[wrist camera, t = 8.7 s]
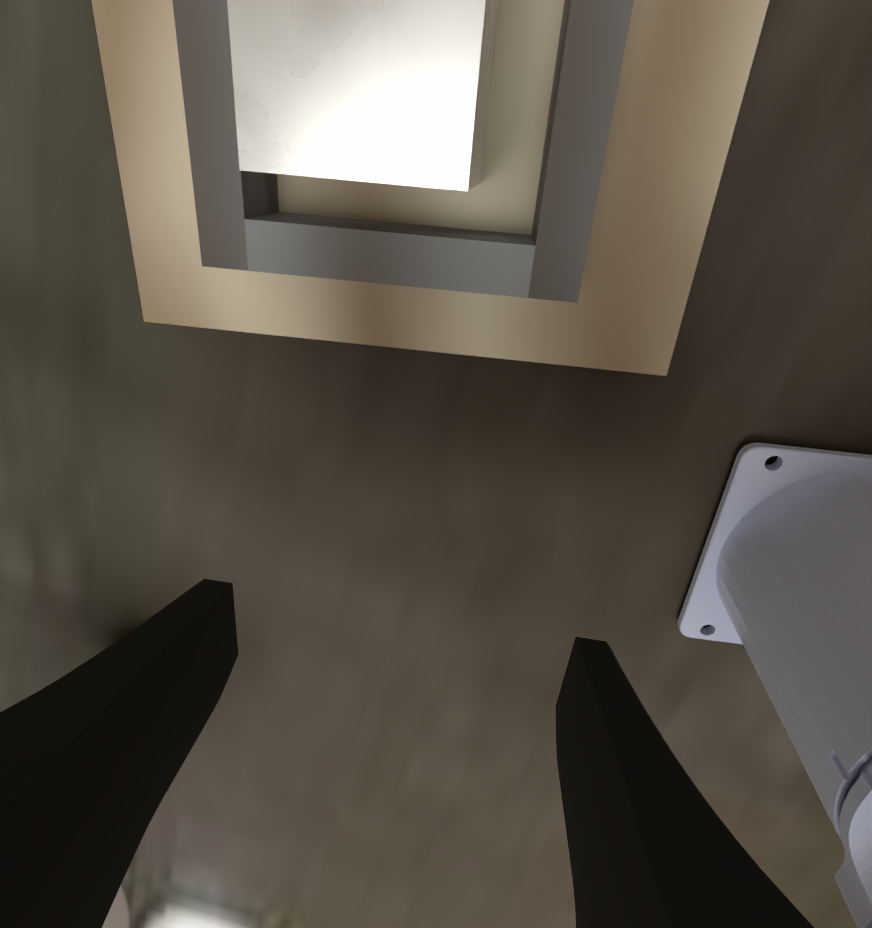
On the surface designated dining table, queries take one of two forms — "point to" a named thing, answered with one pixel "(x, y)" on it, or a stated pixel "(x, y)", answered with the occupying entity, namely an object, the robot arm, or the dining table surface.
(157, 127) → the socket base
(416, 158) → the peg
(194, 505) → the dining table surface
